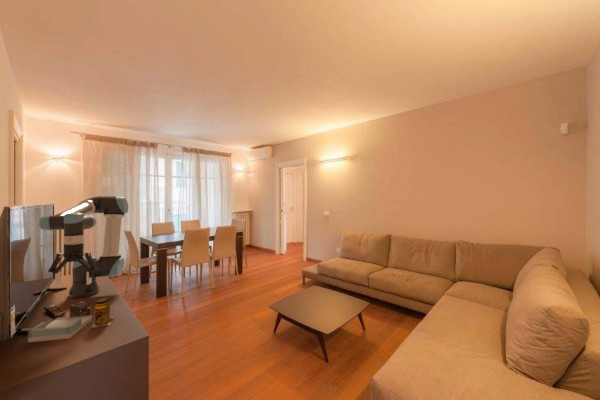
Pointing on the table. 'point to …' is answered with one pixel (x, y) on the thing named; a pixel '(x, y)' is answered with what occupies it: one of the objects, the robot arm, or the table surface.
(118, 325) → the table surface
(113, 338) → the table surface
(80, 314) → the box
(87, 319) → the tray
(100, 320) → the condiment
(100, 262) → the robot arm
